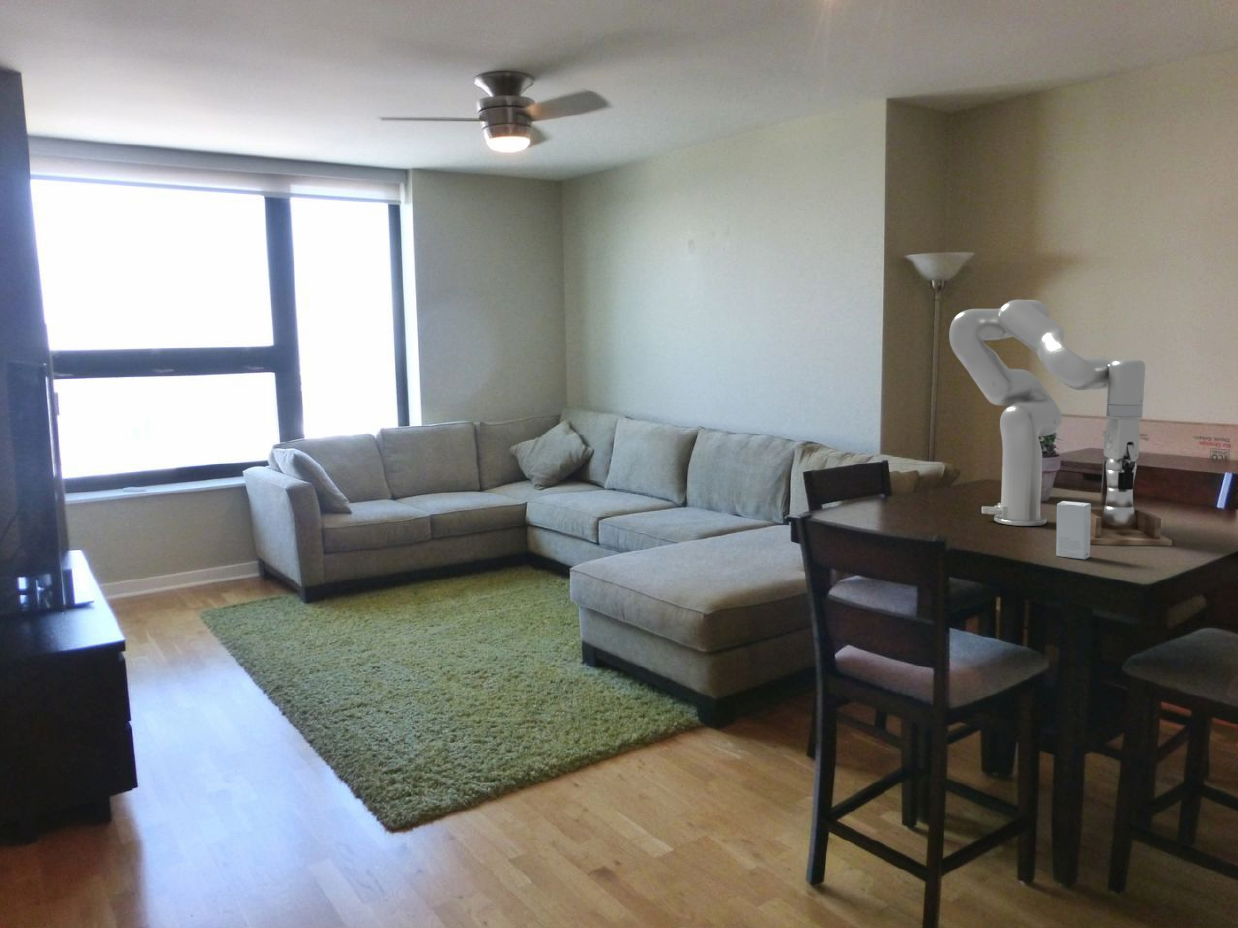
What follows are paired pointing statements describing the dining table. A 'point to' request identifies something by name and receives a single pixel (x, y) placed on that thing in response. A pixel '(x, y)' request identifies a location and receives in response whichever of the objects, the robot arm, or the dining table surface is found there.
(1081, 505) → the skincare box
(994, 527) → the dining table surface
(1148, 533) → the brown tray
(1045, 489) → the potted plant
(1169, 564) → the dining table surface
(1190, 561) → the dining table surface
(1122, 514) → the silver bottle
